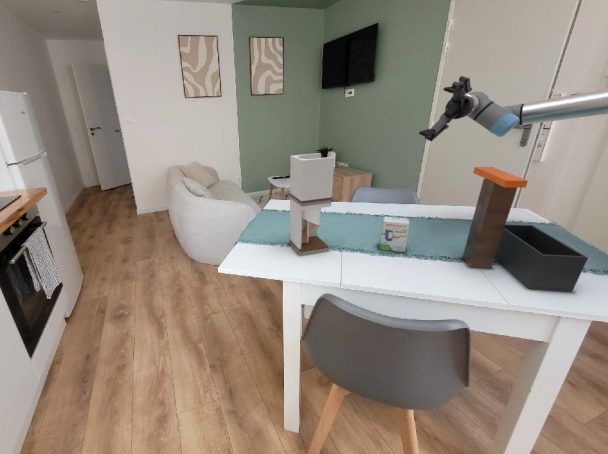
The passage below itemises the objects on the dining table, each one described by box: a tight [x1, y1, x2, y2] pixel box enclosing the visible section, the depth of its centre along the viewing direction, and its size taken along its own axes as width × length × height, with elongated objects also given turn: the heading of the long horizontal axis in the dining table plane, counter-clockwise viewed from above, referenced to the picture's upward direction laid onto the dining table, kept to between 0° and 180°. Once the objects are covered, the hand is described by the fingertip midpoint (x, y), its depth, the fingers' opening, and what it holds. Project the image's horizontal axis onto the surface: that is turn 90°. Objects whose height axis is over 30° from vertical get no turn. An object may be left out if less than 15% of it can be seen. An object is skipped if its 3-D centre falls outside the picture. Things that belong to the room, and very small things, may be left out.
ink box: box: [379, 216, 411, 253], centre depth 107 cm, size 9×5×12 cm, turn 68°
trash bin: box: [494, 223, 589, 293], centre depth 90 cm, size 22×10×11 cm, turn 167°
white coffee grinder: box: [289, 152, 335, 256], centre depth 107 cm, size 11×11×35 cm
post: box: [461, 178, 518, 269], centre depth 91 cm, size 6×6×28 cm
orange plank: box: [472, 166, 529, 189], centre depth 87 cm, size 18×5×2 cm, turn 167°
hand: (434, 113), depth 89 cm, fingers open, 13 cm apart
